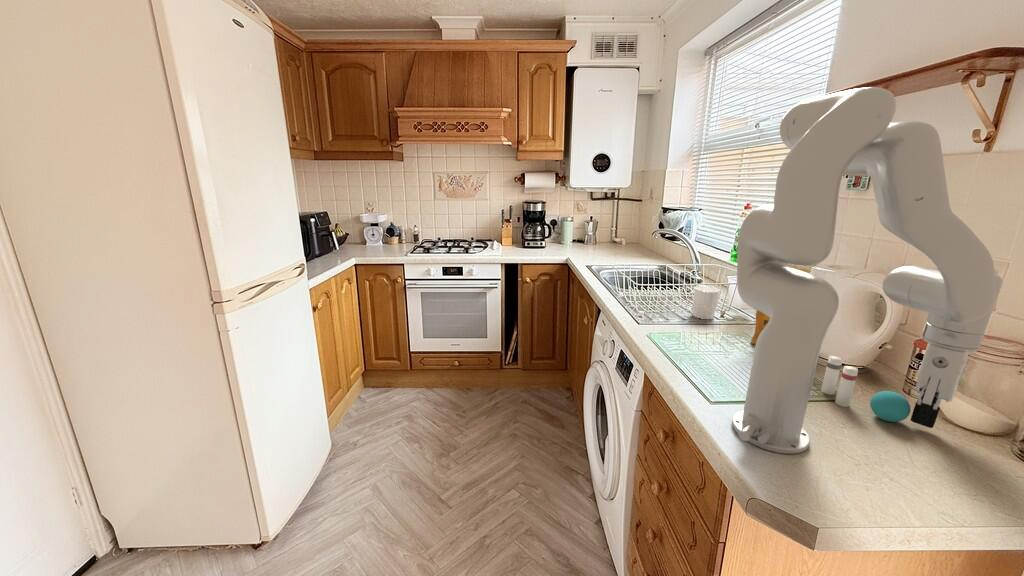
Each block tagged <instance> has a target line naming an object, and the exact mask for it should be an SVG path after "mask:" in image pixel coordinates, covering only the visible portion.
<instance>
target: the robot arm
mask: <svg viewBox="0 0 1024 576" xmlns="http://www.w3.org/2000/svg"><path fill="white" fill-rule="evenodd" d="M896 109H897V100H896V97H895V95H894V94H893V93H892V91H890V90H888V89H886V88H883V87H878V86H868V87H867V86H865V87H859V88H853V89H852V88H851V89H847V90H843V91H837V92H834V93H831V94H826V95H822V96H817V97H814V98H808V99H806V100H801V101H800V102H798V103H796V104H794V105H793V106H792V107H791V108H789V109H788V111H786V113H785V114H784V115H783V117H782V119H781V121H780V125H779V134H780V139H781V141H782V142H783V144H784V145H785V146H786V148H788V149H789V150H790V151H789V152H788V154H787V155H786V156H785V158H784V160H783V162H782V164H781V166H780V167H779V170H778V172H777V177H776V182H775V190H774V197H773V198H774V199H773V203H772V204H770V203H769V204H763V205H761V206H758V207H756V208H754V209H753V210H752V211H750V213H749V214H747V216H746V217H745V218H744V220H743V222H742V224H741V226H740V229H739V232H738V240H737V263H736V264H737V265H736V286H737V292H738V295H739V297H740V299H741V300H742V301H743V302H744V303H745V304H746V305H748V306H749V307H751V308H753V310H754V309H755V310H756V311H757V310H758V311H760V312H762V313H764V314H765V315H767V316H768V317H770V321H769V323H768V324H767V326H766V327H765V328H764V329H763V330H762V332H761V333H760V335H759V337H758V339H757V342H756V344H755V346H754V352H753V353H754V354H753V359H752V363H751V368H750V369H751V370H750V373H749V380H748V384H747V385H748V386H747V390H746V394H745V395H746V396H745V400H744V401H745V402H744V407H743V410H741V411H738V412H735V414H734V415H733V416H732V420H731V425H732V427H733V430H734V431H735V432H736V434H738V437H739V438H740V440H742V441H743V442H749V443H750V444H752V445H753V446H756V447H758V448H760V449H764V450H765V451H770V452H774V453H778V454H783V455H784V454H789V455H794V454H800V453H803V452H805V451H807V449H809V446H810V443H811V441H810V436H809V434H808V432H807V431H806V430H805V429H804V428H803V425H804V421H805V416H806V413H807V408H808V403H809V400H810V396H811V391H812V387H813V382H814V379H815V374H816V370H817V369H816V368H817V365H818V364H817V363H818V361H819V357H820V353H821V349H822V345H823V343H824V340H825V338H826V335H827V333H828V330H829V329H830V327H831V325H832V324H833V321H834V319H835V317H836V315H837V313H838V309H839V306H840V298H839V295H838V292H837V290H836V288H835V287H833V285H832V284H831V283H830V282H829V281H827V280H825V279H823V277H820V276H818V275H817V274H816V275H813V274H810V273H807V272H804V271H801V270H798V269H794V268H790V267H787V263H788V264H793V265H798V266H813V265H816V266H817V265H819V264H821V263H823V262H824V261H825V260H827V258H828V257H829V256H830V254H831V251H832V249H833V246H834V240H835V233H836V223H837V215H838V203H839V195H840V188H841V183H842V179H843V176H844V175H845V176H849V177H850V176H852V177H870V180H871V183H872V184H871V185H872V187H873V194H874V198H875V201H876V208H877V213H878V219H879V223H880V225H882V227H883V228H884V229H886V230H887V231H888V232H889V233H891V234H893V235H895V236H896V237H898V239H900V240H902V241H904V242H905V243H908V244H909V245H911V246H912V247H914V248H916V249H917V250H918V251H920V252H922V254H924V255H925V256H926V257H927V258H928V259H930V260H931V262H933V264H934V265H935V266H936V267H930V266H929V267H928V266H923V265H904V266H900V267H898V268H895V269H893V270H892V271H891V272H889V273H888V274H886V276H885V277H884V278H883V281H882V291H883V293H884V295H885V296H886V297H887V298H888V299H889V300H891V302H894V303H896V304H899V305H901V306H904V307H907V308H910V309H912V310H917V311H920V312H923V313H926V314H927V316H926V319H925V321H924V324H923V325H924V326H923V328H922V331H921V335H920V339H921V340H923V341H924V342H926V343H927V344H926V349H925V351H924V354H923V359H922V361H921V365H920V368H919V371H918V374H917V375H918V376H917V381H916V385H915V388H914V390H915V392H916V393H918V394H919V397H918V399H917V401H916V402H915V405H914V407H913V411H912V414H911V416H910V422H913V423H915V424H918V425H920V426H922V427H923V426H924V427H926V428H929V429H933V428H934V426H935V423H936V421H937V418H938V414H939V412H940V409H941V407H940V404H941V401H942V400H944V401H945V402H946V403H949V402H952V401H953V399H954V396H955V395H956V392H957V389H958V387H959V384H960V382H961V378H962V375H963V372H964V369H965V367H966V364H967V360H968V358H969V353H971V352H972V353H973V352H975V353H976V352H978V351H979V349H980V347H981V344H982V341H983V338H984V336H985V333H986V330H987V327H988V324H989V322H990V319H991V316H992V314H993V311H994V308H995V305H996V303H997V299H998V296H999V294H1000V292H1001V291H1000V290H1001V288H1002V285H1003V280H1002V278H1001V276H1000V275H998V274H997V273H996V271H995V265H994V260H993V257H992V256H991V255H992V254H991V252H990V251H989V250H988V248H987V247H986V246H985V244H984V243H983V242H982V241H981V239H980V238H979V237H978V236H977V235H976V234H975V233H974V232H973V230H972V229H971V228H970V227H969V226H968V225H967V224H966V223H965V222H964V221H963V220H961V219H960V218H959V217H958V216H957V215H956V214H955V213H954V211H952V208H951V205H950V199H949V191H948V184H947V178H946V172H945V163H944V157H943V156H944V155H943V150H942V143H941V138H940V135H939V132H938V130H937V129H936V128H935V127H934V126H933V125H932V124H929V123H927V122H922V121H913V120H912V121H897V122H892V120H893V119H894V117H895V114H896Z"/></svg>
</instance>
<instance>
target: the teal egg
mask: <svg viewBox="0 0 1024 576" xmlns="http://www.w3.org/2000/svg"><path fill="white" fill-rule="evenodd" d="M869 405H870V410H871V411H872V412H873V414H874V415H875V416H877V418H879V419H881V420H883V421H886V422H890V423H898V422H902V421H904V420H906V419H907V418H908V417H909V416H910V414H911V405H910V403H909V401H908V400H907V399H906V397H904V396H903V395H902V394H900V393H898V392H896V391H890V390H881V391H879V392H876V393H875V394H874V395H873V396H872V397H871V399H870V402H869Z"/></svg>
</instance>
